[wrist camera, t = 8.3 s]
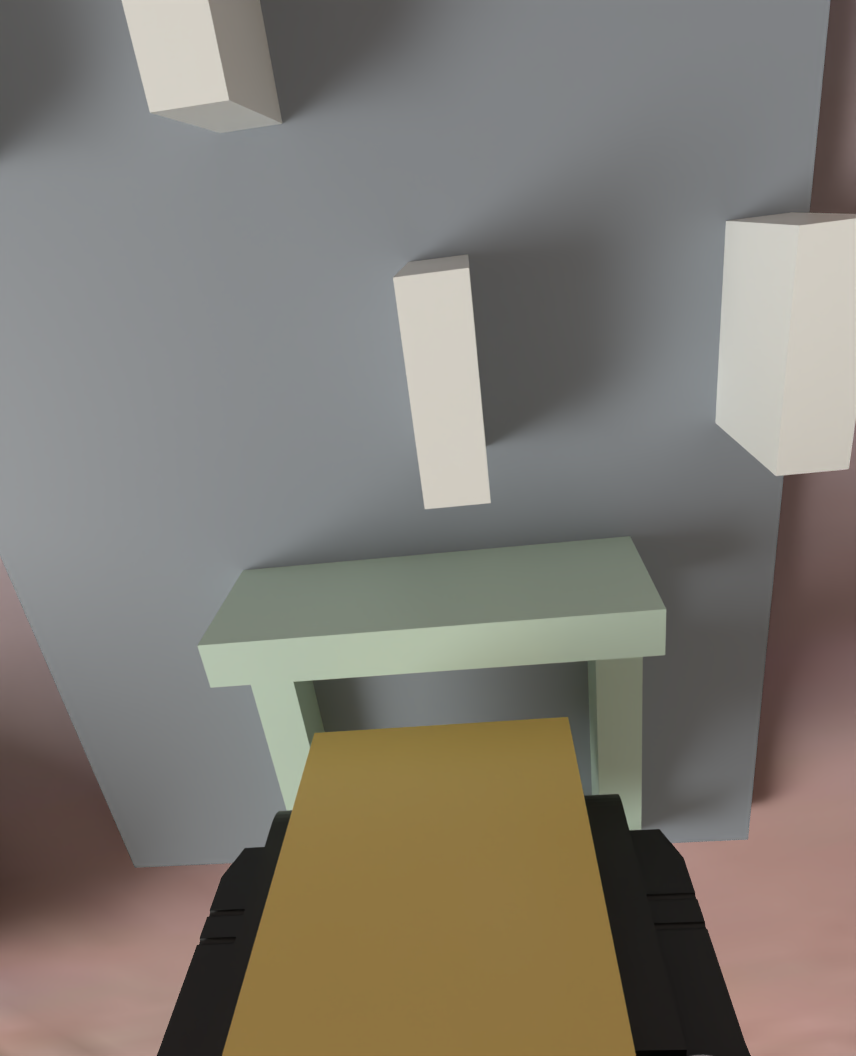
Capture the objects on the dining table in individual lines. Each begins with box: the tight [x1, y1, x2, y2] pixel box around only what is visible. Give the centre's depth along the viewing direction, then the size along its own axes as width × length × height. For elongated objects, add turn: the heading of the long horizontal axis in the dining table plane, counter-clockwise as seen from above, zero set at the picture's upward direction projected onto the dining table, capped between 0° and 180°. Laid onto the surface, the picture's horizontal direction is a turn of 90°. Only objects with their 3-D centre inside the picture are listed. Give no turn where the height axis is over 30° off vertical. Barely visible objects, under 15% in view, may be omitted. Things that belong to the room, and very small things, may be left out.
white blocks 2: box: [393, 212, 856, 509], centre depth 10 cm, size 3×6×2 cm, turn 98°
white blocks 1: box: [122, 0, 282, 133], centre depth 8 cm, size 3×6×2 cm, turn 98°
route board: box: [0, 0, 830, 868], centre depth 12 cm, size 20×14×1 cm
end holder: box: [197, 536, 666, 830], centre depth 13 cm, size 7×7×2 cm
